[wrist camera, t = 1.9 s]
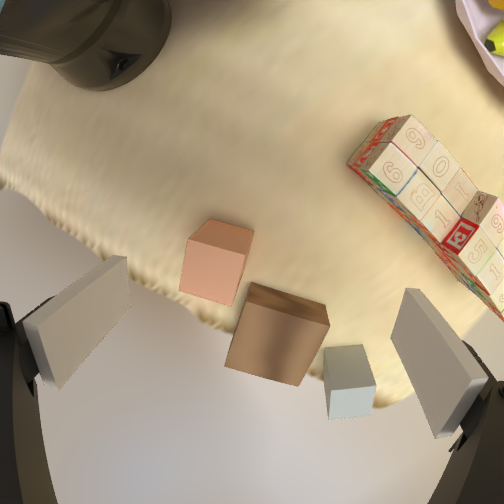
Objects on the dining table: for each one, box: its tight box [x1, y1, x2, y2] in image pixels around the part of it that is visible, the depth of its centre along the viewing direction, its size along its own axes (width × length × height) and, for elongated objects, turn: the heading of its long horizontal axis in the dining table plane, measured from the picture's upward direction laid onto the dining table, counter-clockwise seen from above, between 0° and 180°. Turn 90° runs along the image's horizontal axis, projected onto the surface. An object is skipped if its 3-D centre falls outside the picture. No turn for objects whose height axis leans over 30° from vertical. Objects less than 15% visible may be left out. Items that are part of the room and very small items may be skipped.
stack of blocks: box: [347, 115, 504, 321], centre depth 24 cm, size 21×6×12 cm, turn 53°
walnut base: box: [225, 282, 330, 386], centre depth 34 cm, size 9×9×5 cm
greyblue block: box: [323, 344, 376, 420], centre depth 34 cm, size 5×5×8 cm
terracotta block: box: [179, 219, 254, 306], centre depth 30 cm, size 5×5×8 cm
